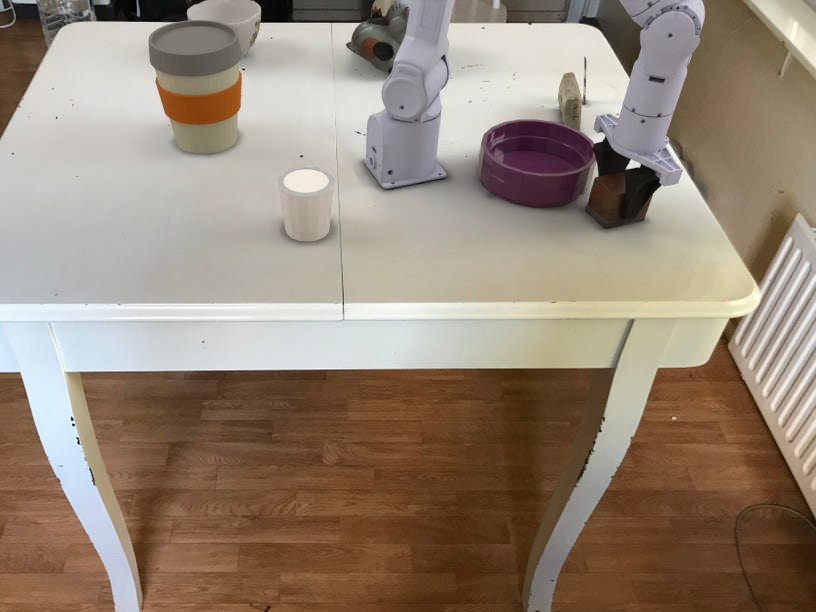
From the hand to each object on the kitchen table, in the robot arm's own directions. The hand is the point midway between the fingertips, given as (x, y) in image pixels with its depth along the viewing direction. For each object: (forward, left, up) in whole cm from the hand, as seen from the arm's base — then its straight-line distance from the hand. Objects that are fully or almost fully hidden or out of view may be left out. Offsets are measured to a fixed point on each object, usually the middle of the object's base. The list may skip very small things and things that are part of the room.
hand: (617, 206), depth 96 cm
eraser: (0, 0, -1) cm, 1 cm away
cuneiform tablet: (+9, +26, -2) cm, 27 cm away
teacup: (-36, +65, -2) cm, 74 cm away
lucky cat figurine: (-10, +54, -2) cm, 54 cm away
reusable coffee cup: (-46, +38, -2) cm, 59 cm away
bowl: (-6, +12, -1) cm, 13 cm away
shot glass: (-39, +11, -2) cm, 40 cm away
